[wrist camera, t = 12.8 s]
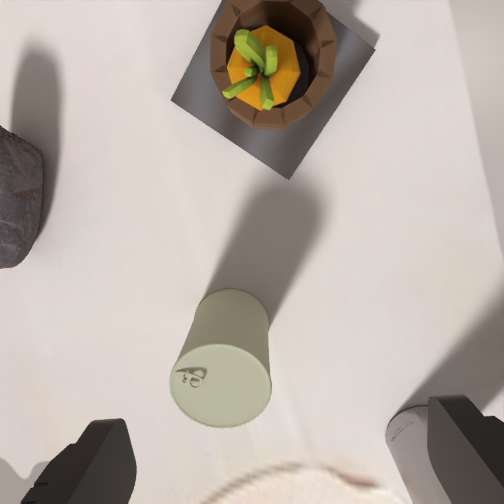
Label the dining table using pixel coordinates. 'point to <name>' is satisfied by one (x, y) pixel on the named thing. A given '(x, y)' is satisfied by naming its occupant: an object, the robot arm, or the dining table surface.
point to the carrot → (262, 68)
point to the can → (224, 362)
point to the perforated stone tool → (18, 197)
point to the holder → (303, 93)
